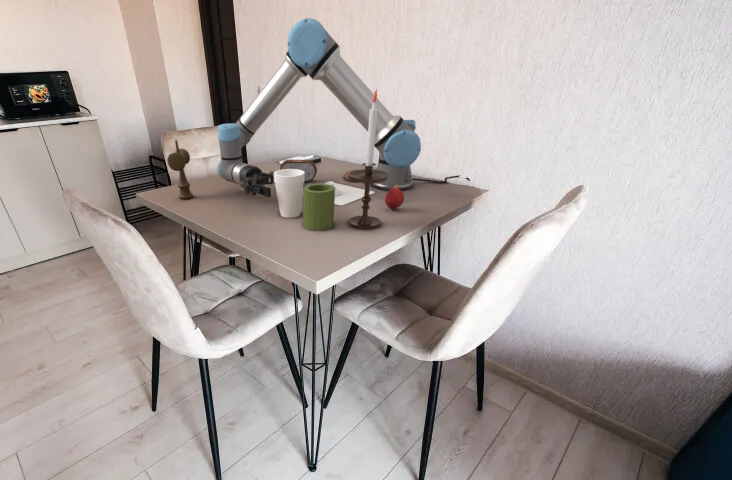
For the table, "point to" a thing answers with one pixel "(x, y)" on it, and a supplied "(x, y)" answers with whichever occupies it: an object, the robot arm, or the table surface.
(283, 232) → the table surface
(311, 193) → the thick-walled green cup
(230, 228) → the table surface
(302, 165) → the tin
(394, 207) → the onion
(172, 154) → the kendama
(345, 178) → the cookie
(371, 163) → the candlestick
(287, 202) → the foam cup
